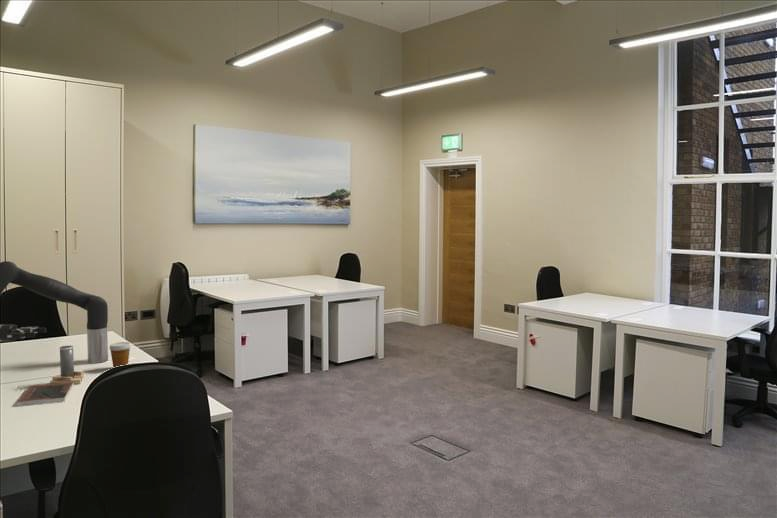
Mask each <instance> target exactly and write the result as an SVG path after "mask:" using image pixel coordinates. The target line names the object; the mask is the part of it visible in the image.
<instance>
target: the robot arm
mask: <svg viewBox="0 0 777 518" xmlns="http://www.w3.org/2000/svg"><path fill="white" fill-rule="evenodd" d="M10 284H11V285H12V284H13V285H17V286H20V287H22V288H25V289H27V290H29V291H31V292H33V293H35V294H36V295H37V294H38V295H40V296H42V297H45V298H48V299H50V300H53V301H56V302H61V303H66V304H71V305H75V306H77V307H79V308H81V309H83V310H84V311H85V310H86V313H87V315H86V316H87V320H86V321H87V322H86V335H87V336H86V339H87V340H86V342H87V344H86V345H87V362H88V363H90V364H99V363H100V362H101V363H104V362H107V361H109V346H108V345H109V342H108V338H109V337H108V319H109V317H108V316H109V315H108V310H109V309H108V308H109V307H108V302H107V301H106V300H105V299H104V298H103V297H101V296H98V295H94V294H91V293H87V292H83V291H81V290H78V289H77V288H75V287H74V286H70V285H68V284H67V283H65V282H62V281H59V280H57V279H54V278H51V277H47V276H45V275H40V274H36V273H32V272H29V271H26V270H24V269H22V268H19V267H18V266H17V264H16V263H14V262H13V261H8V260H7V261H1V262H0V296H2V293H3V292H4V290H5V289H6V288H7V287H8V285H10ZM40 333H41V334H44V333H45V334H46V333H47V328H46V327H40V326H37V325H36V326H25V327H24V326H23V327H20V328H19V326H18V325H17V324H12V323H11V324H0V342H1V343H2V342H15V341H16V340H22V339H25V338H35V337H36V334H40ZM101 363H100V364H101Z"/></svg>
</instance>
